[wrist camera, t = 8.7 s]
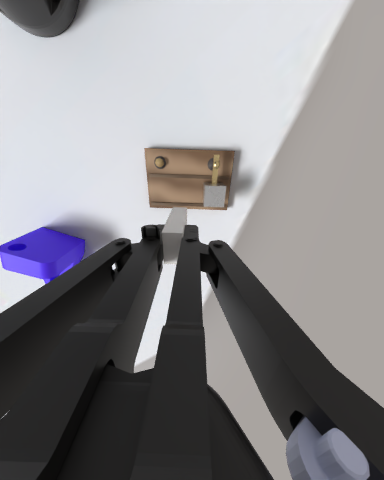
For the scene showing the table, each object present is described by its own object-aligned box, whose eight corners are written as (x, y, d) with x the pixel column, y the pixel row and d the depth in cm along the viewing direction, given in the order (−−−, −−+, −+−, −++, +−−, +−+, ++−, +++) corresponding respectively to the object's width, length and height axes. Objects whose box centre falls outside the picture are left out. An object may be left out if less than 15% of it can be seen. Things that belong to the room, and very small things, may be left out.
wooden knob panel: (146, 148, 33) (143, 147, 31) (232, 151, 33) (235, 150, 31) (151, 205, 38) (148, 208, 36) (225, 208, 38) (227, 211, 36)
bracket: (42, 226, 42) (-9, 249, 31) (85, 239, 43) (49, 265, 33) (46, 276, 49) (6, 308, 39) (82, 286, 51) (53, 319, 40)
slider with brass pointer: (205, 154, 32) (207, 153, 27) (225, 155, 32) (230, 154, 27) (202, 200, 36) (203, 206, 31) (220, 201, 36) (223, 207, 31)
